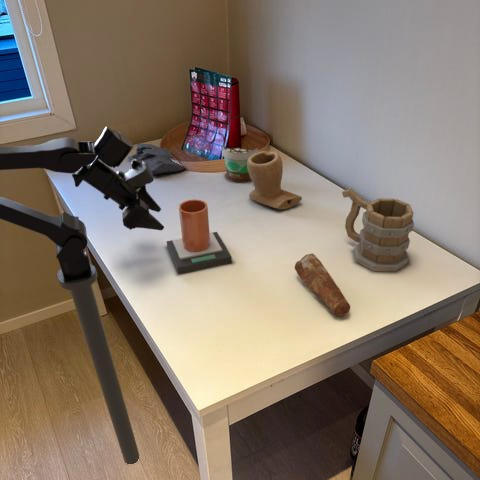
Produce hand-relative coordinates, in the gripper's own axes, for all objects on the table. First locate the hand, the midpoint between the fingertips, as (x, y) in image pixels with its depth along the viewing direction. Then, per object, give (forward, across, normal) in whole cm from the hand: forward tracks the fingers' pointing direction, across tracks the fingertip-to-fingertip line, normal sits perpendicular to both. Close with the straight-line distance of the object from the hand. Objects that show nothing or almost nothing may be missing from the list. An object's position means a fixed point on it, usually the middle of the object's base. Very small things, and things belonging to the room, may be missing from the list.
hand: (161, 219), depth 119 cm
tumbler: (+12, 0, 0) cm, 12 cm away
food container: (+27, +41, -12) cm, 50 cm away
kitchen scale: (+14, -1, +2) cm, 14 cm away
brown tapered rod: (+32, -24, -17) cm, 44 cm away
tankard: (+44, -10, -29) cm, 54 cm away
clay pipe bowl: (+32, +22, -16) cm, 42 cm away
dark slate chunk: (+9, +60, +6) cm, 61 cm away
